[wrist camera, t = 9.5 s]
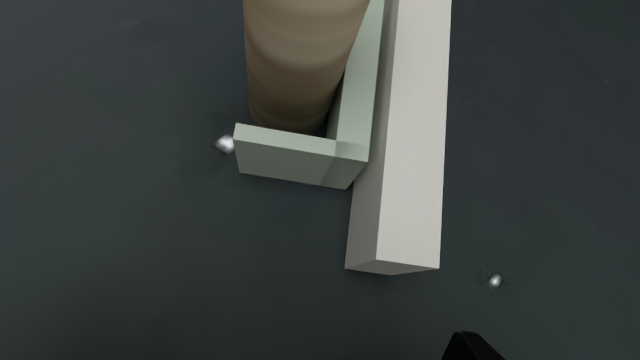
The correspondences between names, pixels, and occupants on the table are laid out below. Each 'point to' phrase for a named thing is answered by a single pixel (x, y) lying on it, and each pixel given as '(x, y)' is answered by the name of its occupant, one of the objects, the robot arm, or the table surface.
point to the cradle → (342, 128)
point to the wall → (404, 145)
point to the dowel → (297, 59)
